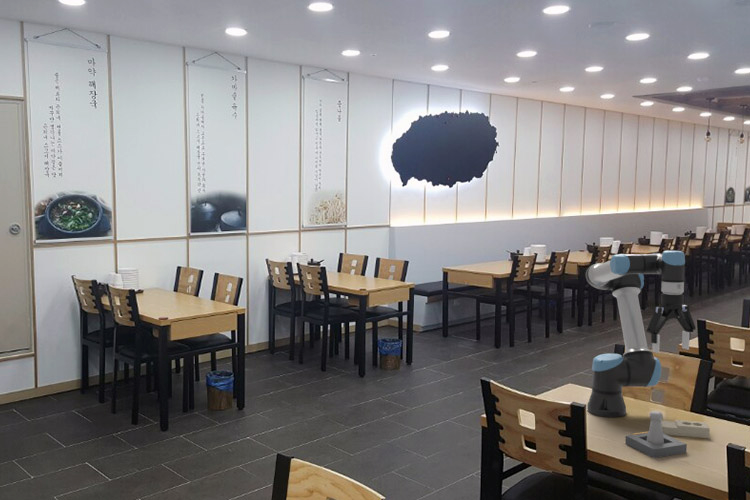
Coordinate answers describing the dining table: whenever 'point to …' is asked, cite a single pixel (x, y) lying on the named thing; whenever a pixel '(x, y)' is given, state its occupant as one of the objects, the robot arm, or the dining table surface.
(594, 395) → the robot arm
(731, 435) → the dining table surface
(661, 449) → the caddy block
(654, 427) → the salt shaker
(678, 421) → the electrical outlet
